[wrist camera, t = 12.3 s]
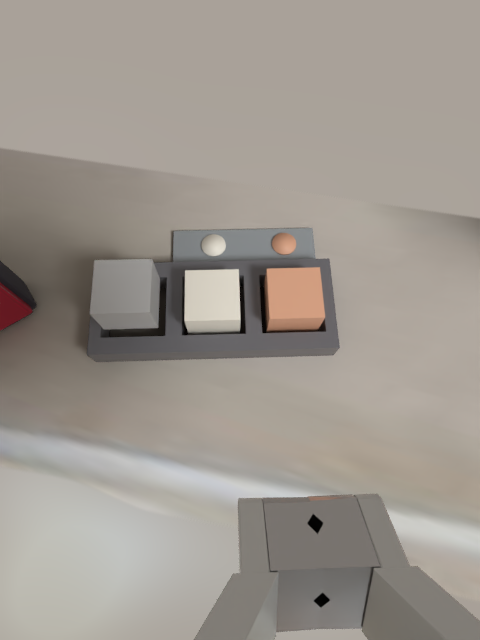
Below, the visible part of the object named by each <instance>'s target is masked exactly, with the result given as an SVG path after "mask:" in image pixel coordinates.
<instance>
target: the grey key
mask: <svg viewBox="0 0 480 640" xmlns="http://www.w3.org/2000/svg"><path fill="white" fill-rule="evenodd" d="M159 293H160V278H159V275H158V273H157V270H156V268H155V265H154V262H153V260H152V259H123V260H94V271H93V282H92V293H91V303H90V315H91V316H92V317H93V318H94V319H95V320H96V321H97V322H98V324H99V325H100V326H101V327H102V328H103V329H140V328H158V322H159Z"/></svg>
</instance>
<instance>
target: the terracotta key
mask: <svg viewBox="0 0 480 640" xmlns="http://www.w3.org/2000/svg"><path fill="white" fill-rule="evenodd" d="M264 300H265V317H266V333H287V332H317V330H318V329H319V327H320V325H321V324H322V322H323V320H324V319H325V310H324V301H323V291H322V282H321V273H320V267H313V268H270V269H267V270H266V276H265V282H264Z"/></svg>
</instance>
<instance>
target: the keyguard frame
mask: <svg viewBox="0 0 480 640" xmlns="http://www.w3.org/2000/svg"><path fill="white" fill-rule="evenodd" d="M154 265H155V268H156V270H157V273H158V275H159V278H160V289H162V288H167V293H166V328H165V336H143V337H109V330H110V329H103V328H102V327H101V326H100V325H99V324H98V322H97V321H96V320H95V319H94V318H93V317H92V316H91V315H90V326H89V337H88V348H87V355H88V356H89V357H90V358H92V359H93V360H94V361H95V362H111V361H147V360H182V359H218V358H253V357H289V356H324V355H334V354H335V353H336V351H337V350H338V349H339V348H340V347H339V339H338V330H337V321H336V313H335V304H334V295H333V287H332V278H331V269H330V261H329V259H291V260H248V261H204V262H161V263H154ZM313 267H320V273H321V282H322V291H323V301H324V310H325V319H324V320H323V322H322V324H321V325H320V327H319V328H320V332H292V333H262V320H261V301H260V286H264V282H265V276H266V270H267V269H270V268H313ZM225 269H239V287H243V292H244V318H245V334H217V335H185V321H184V314H185V270H225Z"/></svg>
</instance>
